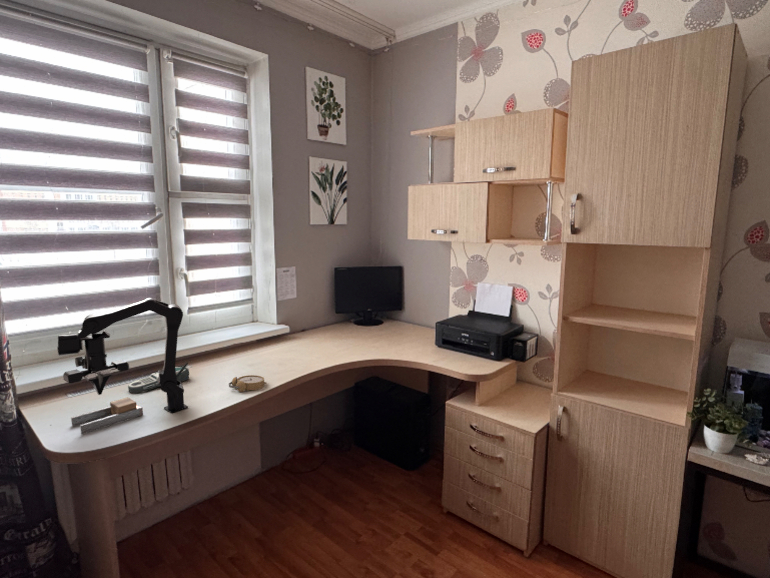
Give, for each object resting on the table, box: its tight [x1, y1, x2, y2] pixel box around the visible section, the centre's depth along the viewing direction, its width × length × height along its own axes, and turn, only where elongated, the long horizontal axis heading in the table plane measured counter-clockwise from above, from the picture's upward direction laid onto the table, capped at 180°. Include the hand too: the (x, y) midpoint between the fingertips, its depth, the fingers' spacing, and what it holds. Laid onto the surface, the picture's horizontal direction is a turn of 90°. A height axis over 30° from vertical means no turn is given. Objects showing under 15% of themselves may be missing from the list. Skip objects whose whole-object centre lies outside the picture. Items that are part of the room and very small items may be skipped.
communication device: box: [127, 361, 190, 394], centre depth 196 cm, size 12×24×9 cm, turn 139°
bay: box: [70, 404, 144, 435], centre depth 162 cm, size 10×20×3 cm, turn 140°
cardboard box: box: [109, 396, 138, 416], centre depth 166 cm, size 7×6×5 cm
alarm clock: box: [228, 374, 268, 393], centre depth 193 cm, size 11×5×15 cm
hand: (99, 394), depth 159 cm, fingers closed
